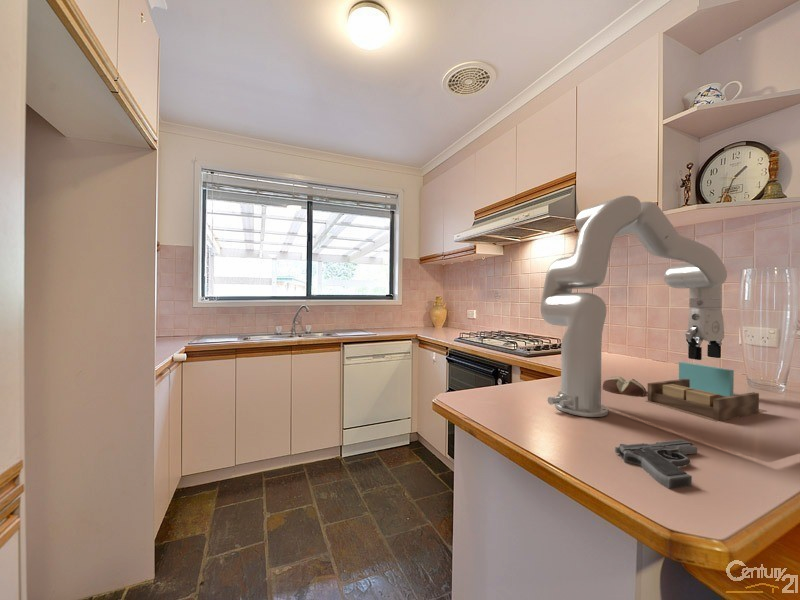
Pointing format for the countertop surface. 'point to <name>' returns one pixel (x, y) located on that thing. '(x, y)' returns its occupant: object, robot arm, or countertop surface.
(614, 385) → the bread
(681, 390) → the offcut left
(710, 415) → the rack
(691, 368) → the panel
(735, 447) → the countertop surface
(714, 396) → the offcut right
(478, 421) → the countertop surface
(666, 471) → the handgun
